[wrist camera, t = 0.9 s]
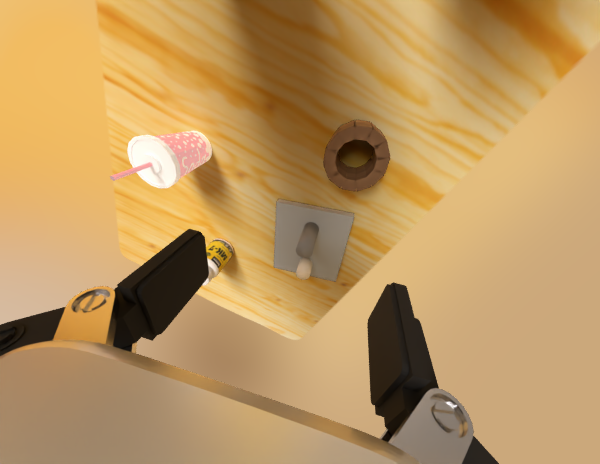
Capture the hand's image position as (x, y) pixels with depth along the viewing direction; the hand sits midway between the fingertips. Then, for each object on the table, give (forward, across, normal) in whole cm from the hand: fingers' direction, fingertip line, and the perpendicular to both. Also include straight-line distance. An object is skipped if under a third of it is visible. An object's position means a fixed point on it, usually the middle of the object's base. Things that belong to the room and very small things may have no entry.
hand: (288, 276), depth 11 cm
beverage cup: (+23, +20, +2) cm, 30 cm away
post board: (+23, +1, +14) cm, 27 cm away
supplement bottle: (+23, +18, +21) cm, 35 cm away
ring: (+23, -3, -2) cm, 23 cm away
